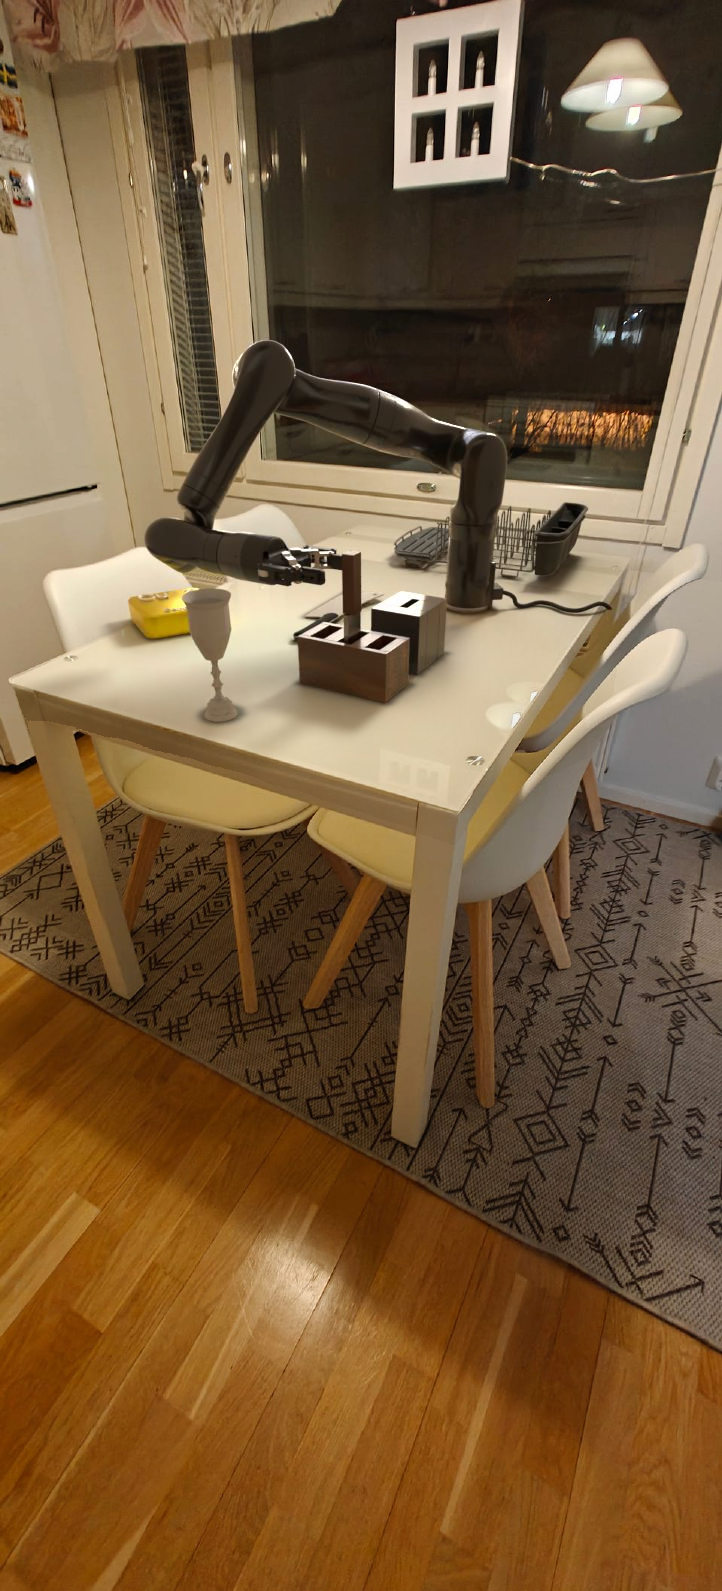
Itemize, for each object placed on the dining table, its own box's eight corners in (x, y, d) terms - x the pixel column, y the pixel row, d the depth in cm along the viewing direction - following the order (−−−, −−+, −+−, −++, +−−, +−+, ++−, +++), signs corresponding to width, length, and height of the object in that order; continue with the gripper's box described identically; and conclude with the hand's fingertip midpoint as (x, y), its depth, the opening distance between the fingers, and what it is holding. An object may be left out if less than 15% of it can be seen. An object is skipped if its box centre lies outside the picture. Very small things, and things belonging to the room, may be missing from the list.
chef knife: (353, 678, 120) (352, 549, 109) (364, 680, 119) (363, 550, 108) (341, 687, 117) (338, 554, 106) (352, 689, 116) (350, 556, 105)
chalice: (200, 704, 111) (184, 589, 102) (244, 702, 112) (232, 587, 102) (195, 726, 105) (178, 605, 96) (242, 723, 106) (229, 603, 96)
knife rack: (325, 666, 124) (323, 621, 120) (408, 684, 117) (409, 637, 113) (299, 683, 118) (297, 636, 114) (385, 703, 112) (386, 654, 107)
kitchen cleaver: (346, 587, 160) (386, 588, 155) (347, 595, 161) (387, 596, 156) (266, 631, 137) (310, 633, 132) (268, 639, 138) (312, 642, 133)
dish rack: (558, 586, 163) (566, 531, 157) (379, 566, 179) (379, 515, 172) (583, 552, 189) (591, 503, 183) (425, 537, 205) (427, 491, 198)
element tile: (148, 640, 135) (144, 615, 133) (129, 618, 146) (124, 594, 144) (224, 627, 141) (221, 603, 139) (200, 606, 152) (197, 584, 150)
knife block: (399, 644, 133) (400, 590, 127) (444, 653, 129) (447, 598, 124) (370, 664, 125) (370, 608, 119) (417, 674, 121) (419, 616, 116)
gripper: (222, 542, 109) (312, 555, 102) (276, 524, 119) (361, 535, 112) (227, 592, 113) (314, 608, 106) (279, 570, 123) (362, 583, 116)
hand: (339, 570), depth 109 cm, fingers open, 8 cm apart
